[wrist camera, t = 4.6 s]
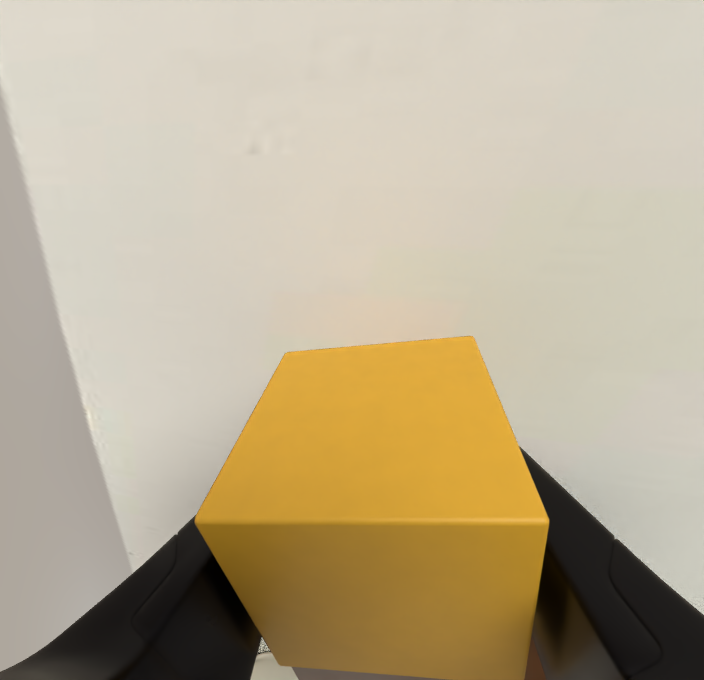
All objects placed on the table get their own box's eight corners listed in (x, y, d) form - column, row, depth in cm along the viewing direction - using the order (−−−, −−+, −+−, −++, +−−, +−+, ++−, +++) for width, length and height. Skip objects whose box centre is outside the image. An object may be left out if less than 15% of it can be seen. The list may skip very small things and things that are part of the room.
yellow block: (473, 473, 11) (524, 687, 7) (321, 476, 12) (277, 667, 7) (473, 333, 9) (553, 522, 4) (284, 350, 9) (190, 521, 5)
